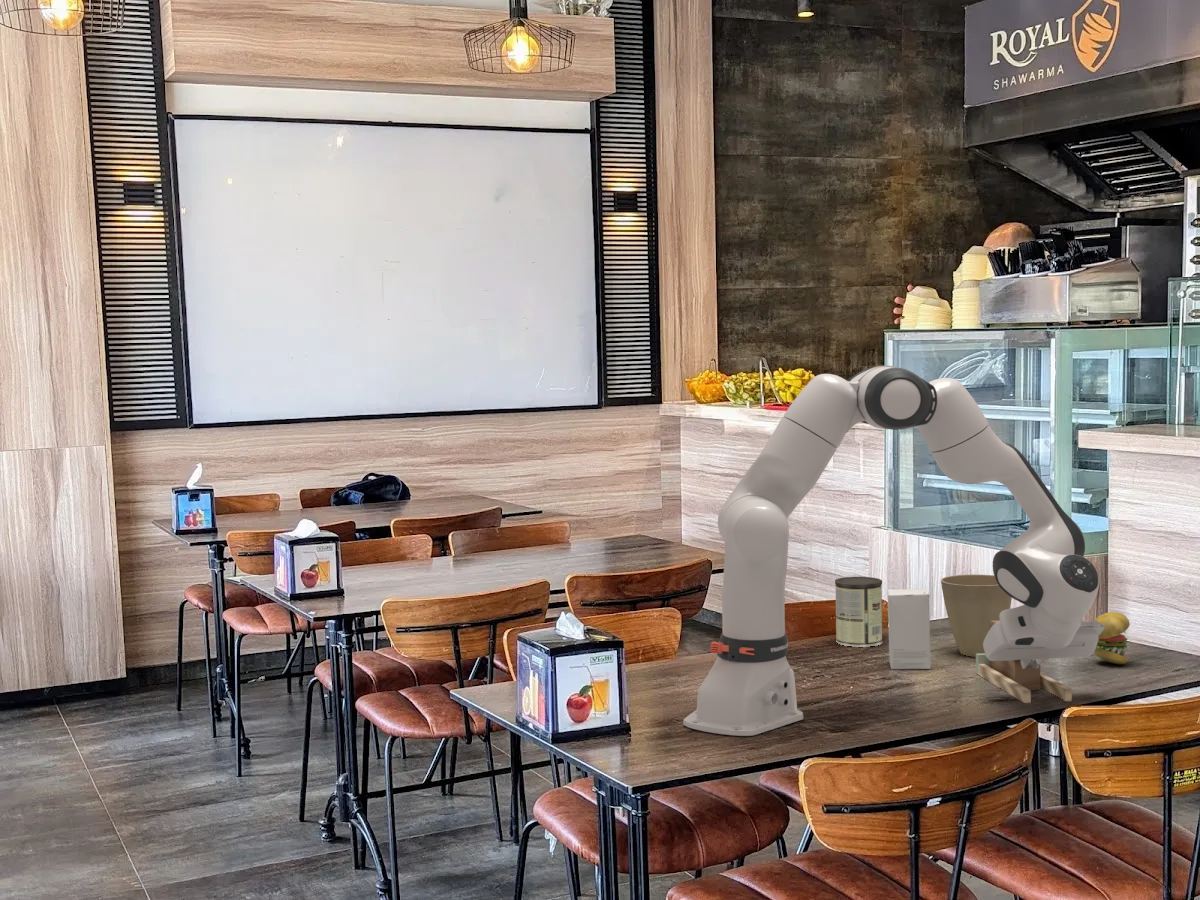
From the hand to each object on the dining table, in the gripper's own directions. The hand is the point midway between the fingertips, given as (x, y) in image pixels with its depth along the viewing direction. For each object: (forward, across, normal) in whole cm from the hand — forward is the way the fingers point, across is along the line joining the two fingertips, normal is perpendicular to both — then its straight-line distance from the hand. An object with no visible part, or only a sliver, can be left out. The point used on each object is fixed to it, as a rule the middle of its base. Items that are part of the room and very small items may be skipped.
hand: (1028, 665), depth 243 cm
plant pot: (+26, -2, -19) cm, 32 cm away
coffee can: (+37, +19, -30) cm, 51 cm away
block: (+8, 0, -1) cm, 8 cm away
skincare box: (+20, +15, -13) cm, 28 cm away
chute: (+5, 0, +2) cm, 5 cm away
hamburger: (+16, -25, -9) cm, 31 cm away
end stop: (+13, 0, -7) cm, 15 cm away
